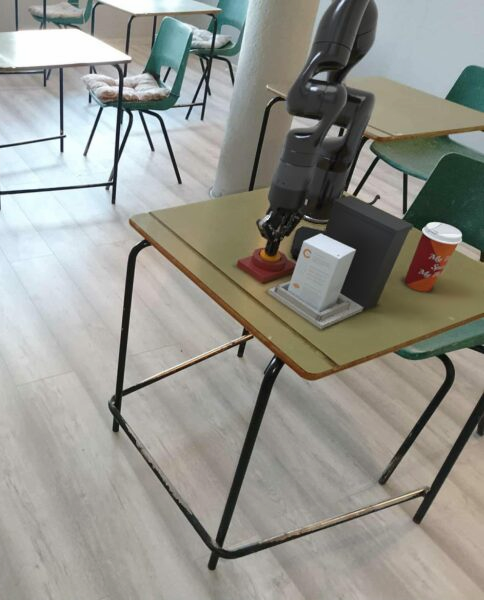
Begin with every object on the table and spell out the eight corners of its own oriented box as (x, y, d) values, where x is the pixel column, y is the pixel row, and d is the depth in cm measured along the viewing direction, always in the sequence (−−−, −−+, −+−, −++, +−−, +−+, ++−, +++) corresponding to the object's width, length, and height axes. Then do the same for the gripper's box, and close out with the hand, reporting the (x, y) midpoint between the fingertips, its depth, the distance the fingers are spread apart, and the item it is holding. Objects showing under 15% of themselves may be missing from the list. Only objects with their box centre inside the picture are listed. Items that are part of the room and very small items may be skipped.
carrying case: (335, 271, 130) (338, 243, 141) (339, 260, 128) (342, 232, 139) (287, 259, 133) (294, 233, 144) (291, 248, 131) (298, 222, 142)
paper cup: (419, 297, 123) (447, 240, 115) (391, 278, 129) (416, 223, 121) (444, 290, 126) (473, 235, 118) (416, 272, 132) (442, 218, 124)
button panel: (270, 255, 134) (273, 242, 132) (296, 271, 128) (300, 258, 126) (236, 266, 129) (239, 253, 127) (262, 284, 123) (266, 270, 121)
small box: (335, 304, 117) (357, 249, 109) (318, 314, 114) (340, 258, 106) (302, 285, 122) (320, 232, 114) (284, 295, 118) (302, 240, 111)
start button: (268, 255, 130) (270, 247, 129) (282, 264, 127) (285, 256, 126) (254, 259, 128) (256, 251, 127) (268, 269, 125) (271, 261, 124)
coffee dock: (322, 271, 129) (350, 195, 118) (377, 305, 120) (413, 224, 109) (267, 292, 121) (291, 211, 110) (321, 329, 111) (354, 245, 100)
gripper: (283, 194, 111) (261, 269, 121) (327, 183, 117) (303, 255, 127) (255, 179, 116) (236, 253, 126) (298, 169, 122) (277, 240, 132)
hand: (270, 254), depth 126 cm, fingers closed
